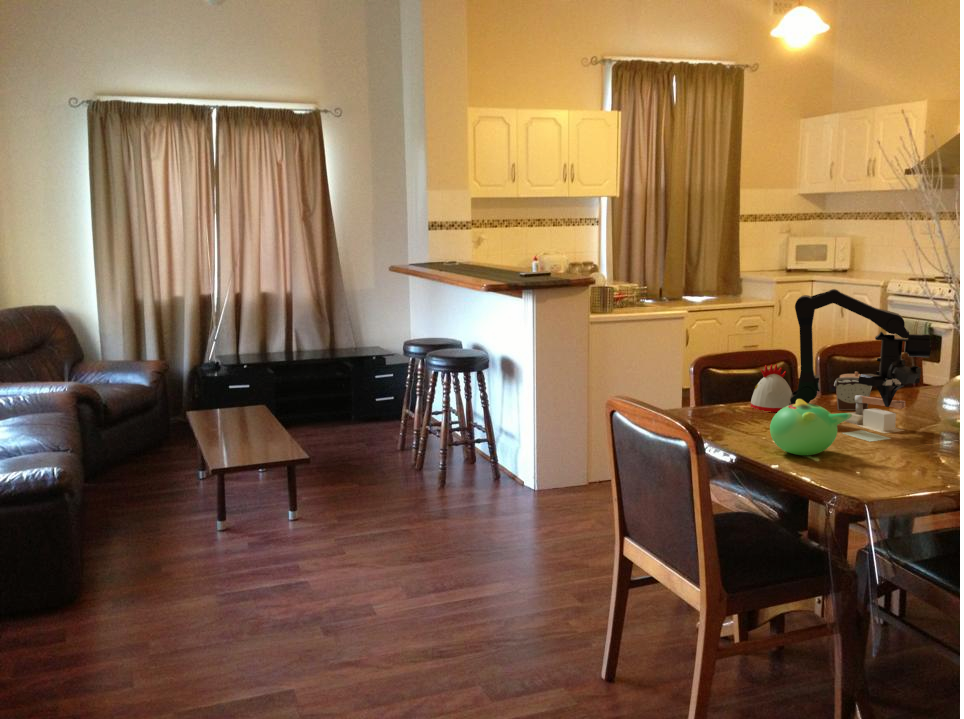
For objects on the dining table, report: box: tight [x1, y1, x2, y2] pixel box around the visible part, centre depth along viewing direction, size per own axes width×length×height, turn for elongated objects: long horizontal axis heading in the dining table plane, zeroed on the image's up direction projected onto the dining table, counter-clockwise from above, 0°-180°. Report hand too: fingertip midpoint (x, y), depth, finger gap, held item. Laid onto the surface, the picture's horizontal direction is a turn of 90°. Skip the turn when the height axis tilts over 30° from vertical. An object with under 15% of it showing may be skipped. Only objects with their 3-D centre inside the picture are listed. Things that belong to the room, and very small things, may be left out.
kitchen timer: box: [750, 364, 793, 413], centre depth 299 cm, size 14×14×15 cm
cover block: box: [862, 407, 897, 431], centre depth 269 cm, size 5×8×5 cm, turn 22°
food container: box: [833, 377, 872, 411], centre depth 298 cm, size 12×6×10 cm, turn 84°
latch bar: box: [855, 395, 906, 410], centre depth 272 cm, size 4×14×2 cm, turn 43°
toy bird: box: [769, 399, 852, 456], centre depth 242 cm, size 18×17×15 cm
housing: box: [844, 402, 905, 434], centre depth 271 cm, size 8×16×7 cm, turn 22°
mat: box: [841, 429, 892, 443], centre depth 260 cm, size 8×11×1 cm
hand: (887, 407), depth 268 cm, fingers closed
